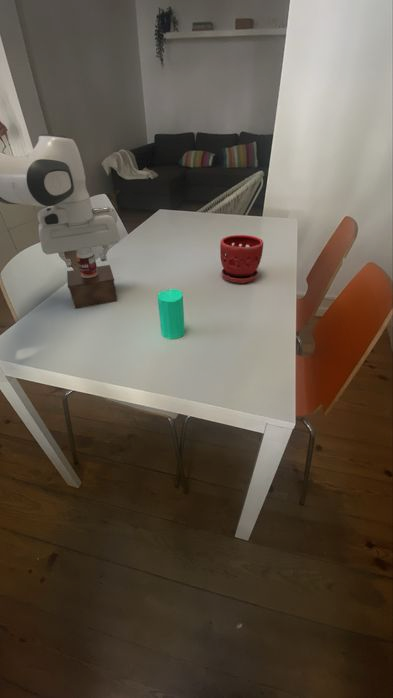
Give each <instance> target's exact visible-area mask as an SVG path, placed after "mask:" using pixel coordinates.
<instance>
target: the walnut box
mask: <svg viewBox="0 0 393 698" xmlns="http://www.w3.org/2000/svg"><path fill="white" fill-rule="evenodd" d="M97 270H98V275H97V276H95V277H92V278H84V277H82V276H81V273H80V269H73V270H72V269H71V270H67V271H66V278H67V280H66V281H67V288H68V289H69V292H70V296H71V299H72V303H73V306H74V309H80V308H86V307H92V306H97V305H103V304H108V303H115V302H118V296H117V291H116V285H115V278H114V274H113V271H112V268H111V265H110V264H106V265H100V266H97Z"/></svg>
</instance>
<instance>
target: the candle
mask: <svg viewBox="0 0 393 698" xmlns="http://www.w3.org/2000/svg"><path fill="white" fill-rule="evenodd" d="M157 305H158V314H159V323H160V334H161V336H162V337H163V338H165V339H169V340H174V339H175V340H176V339H179V338H181V337H183V336H184V334H185V333H186V331H185V329H186V328H185V312H184V309H185V308H184V294H183V291H181V290H180V289H178V288H177V289H176V288H169V289H167V290H161V291H160V292H159V293H158V294H157Z"/></svg>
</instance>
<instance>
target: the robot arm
mask: <svg viewBox="0 0 393 698" xmlns="http://www.w3.org/2000/svg"><path fill="white" fill-rule="evenodd" d="M86 179H87V178H86V172H85V169H84V163H83V161H82V158H81V154H80V151H79V148H78V146H77V144H76V142H75V140H74V139H72V138H71V137H70V136H67V135H63V134H53V133H51V134H50V133H45V134H41V135H39V136H38V141H37V143H36V145H35V146H34V147H33V149H32V150H31V151H30V152H28V153H27V154H25V155H11V154H7V153H3V152H1V151H0V203H1V204H2V203H3V204H6V205H24V206H33V207H43V209H41V210H39V211H38V212H37V220H38V222H39V224H38V237H39V243H40V246H41V251H42V252H43V253H44V254H45V255H55V254H58V257H59V259H61V260H62V261H63V262H64V263H65V266H66V268H73V263H72V260H71V258H67V257H66V256H65V253H66V252H72V251H76V250H79V249H81V248H91V249H92V248H96V247H97V248H98V247H101V248H102V252H101V253H99V258H100V261H101V262H107V261H108V258H107V254H108V252H109V245H115V244H119V242H120V240H121V236H120V231H119V228H118V225H117V222H118V214H117V212H116V211H115V209H114V208H110V206H104V207H97V208H96V207H95V208H93V206H92V202H91V197H90V194H89V192H88V189H87V185H86ZM44 207H45V208H44Z"/></svg>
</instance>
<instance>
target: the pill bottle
mask: <svg viewBox="0 0 393 698" xmlns="http://www.w3.org/2000/svg"><path fill="white" fill-rule="evenodd" d="M75 252H76V254H75V257H76V261H77V265H78V268H79V269H80V273H81V276H82V277H84V278H92V277H95V276H97V275H98V270H97V267H98V265H97V261H96V257H95V253H94V251H92V247H91V248H81V249H79V250H75Z"/></svg>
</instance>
